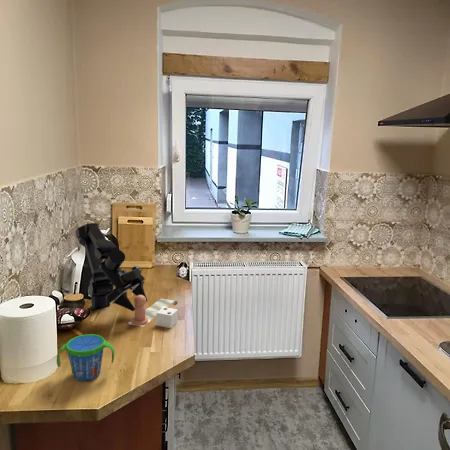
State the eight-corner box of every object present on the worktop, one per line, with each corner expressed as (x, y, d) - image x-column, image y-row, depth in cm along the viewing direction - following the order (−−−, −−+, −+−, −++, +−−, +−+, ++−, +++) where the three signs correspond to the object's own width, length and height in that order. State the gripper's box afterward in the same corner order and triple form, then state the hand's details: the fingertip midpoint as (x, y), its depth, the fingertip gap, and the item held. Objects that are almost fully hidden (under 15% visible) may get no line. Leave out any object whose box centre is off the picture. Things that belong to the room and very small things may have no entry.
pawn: (138, 326, 142) (138, 299, 140) (128, 321, 146) (128, 294, 144) (151, 321, 147) (151, 295, 145) (141, 316, 150) (141, 291, 149)
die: (170, 330, 142) (171, 315, 141) (156, 328, 144) (156, 312, 143) (177, 324, 148) (177, 309, 147) (163, 321, 150) (163, 306, 149)
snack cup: (52, 385, 107) (51, 351, 105) (64, 365, 117) (63, 333, 115) (110, 385, 108) (110, 351, 106) (117, 364, 118) (117, 333, 117)
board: (146, 330, 142) (146, 327, 142) (124, 326, 144) (124, 323, 144) (177, 303, 168) (177, 301, 168) (158, 300, 171) (158, 297, 171)
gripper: (113, 267, 135) (141, 302, 133) (140, 254, 152) (165, 285, 151) (94, 285, 138) (121, 320, 137) (123, 271, 156) (147, 301, 155)
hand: (140, 305), depth 145 cm, fingers open, 9 cm apart
